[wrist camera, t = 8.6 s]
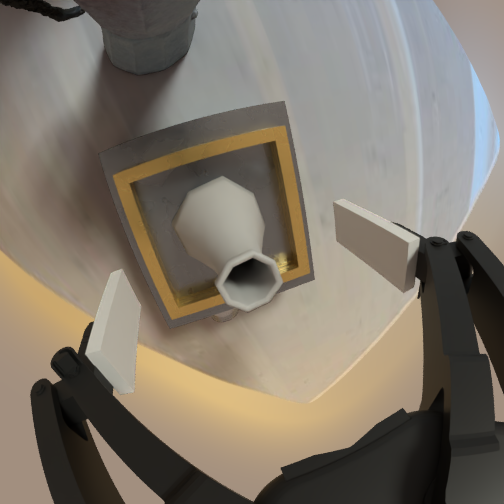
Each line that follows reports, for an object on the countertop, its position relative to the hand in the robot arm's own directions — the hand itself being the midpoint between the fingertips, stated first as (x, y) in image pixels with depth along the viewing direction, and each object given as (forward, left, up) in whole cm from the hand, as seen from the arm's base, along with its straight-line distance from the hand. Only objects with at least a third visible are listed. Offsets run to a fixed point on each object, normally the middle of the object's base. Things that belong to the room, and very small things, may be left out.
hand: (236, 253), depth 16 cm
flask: (0, 0, -7) cm, 7 cm away
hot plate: (+2, 0, -13) cm, 13 cm away
